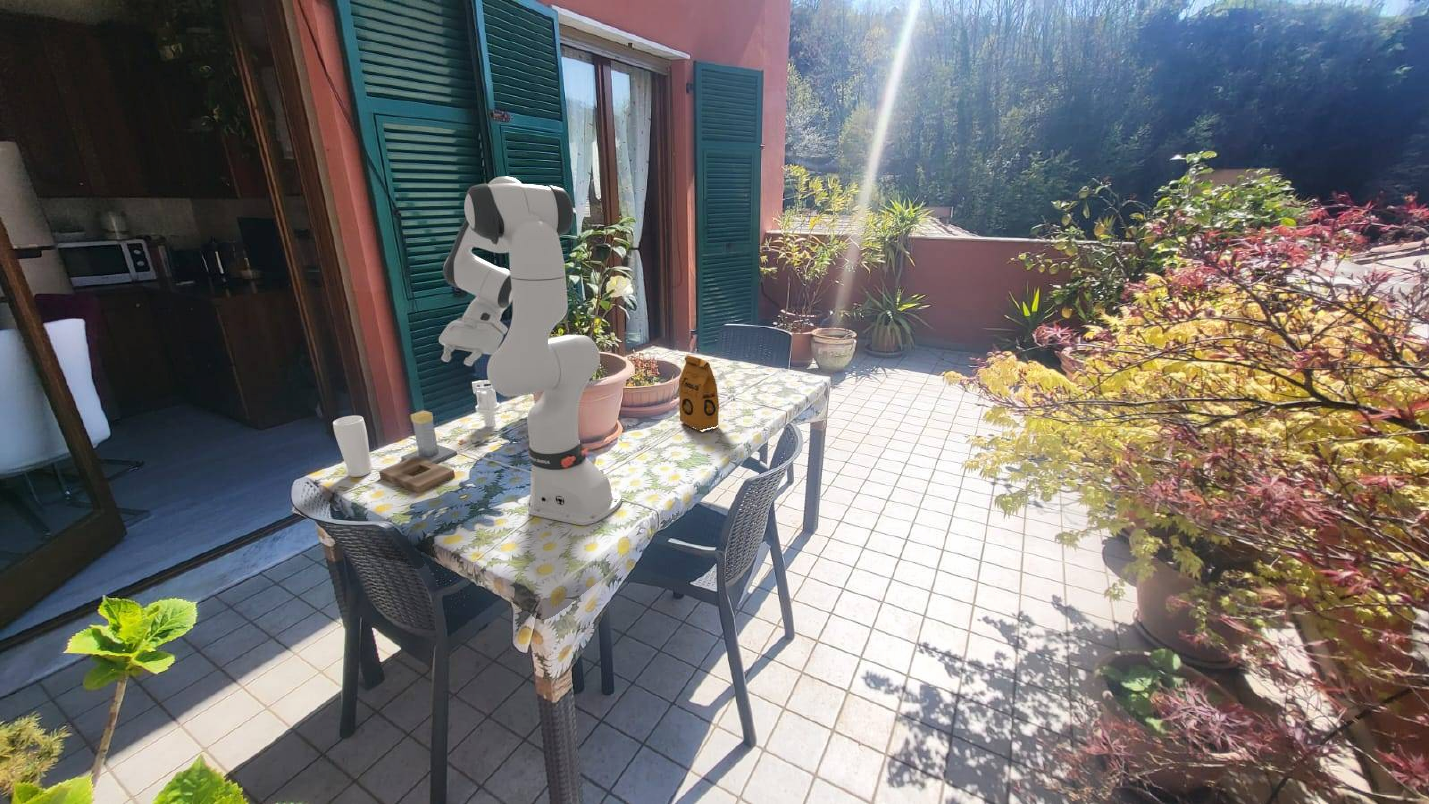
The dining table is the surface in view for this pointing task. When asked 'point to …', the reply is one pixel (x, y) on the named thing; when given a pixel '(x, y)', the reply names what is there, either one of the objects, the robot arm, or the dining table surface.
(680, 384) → the coffee package
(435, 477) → the plate
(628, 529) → the dining table surface
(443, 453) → the coaster
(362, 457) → the drinking glass
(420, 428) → the key peg
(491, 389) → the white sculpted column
